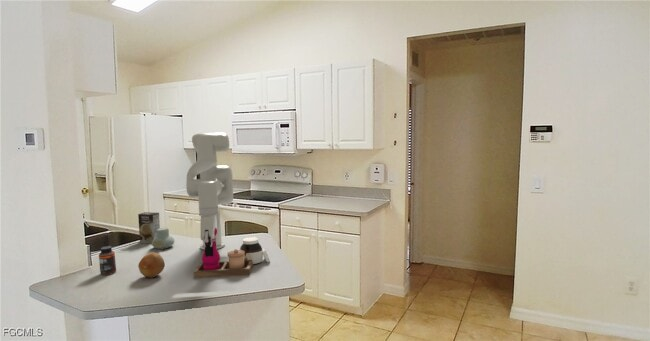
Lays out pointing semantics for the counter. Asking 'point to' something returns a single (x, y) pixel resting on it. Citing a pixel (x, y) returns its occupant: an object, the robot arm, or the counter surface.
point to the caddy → (223, 270)
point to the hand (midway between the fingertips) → (210, 253)
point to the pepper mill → (212, 261)
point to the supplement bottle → (107, 261)
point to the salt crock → (236, 259)
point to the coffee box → (148, 226)
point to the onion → (151, 265)
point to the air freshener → (163, 239)
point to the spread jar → (253, 250)
